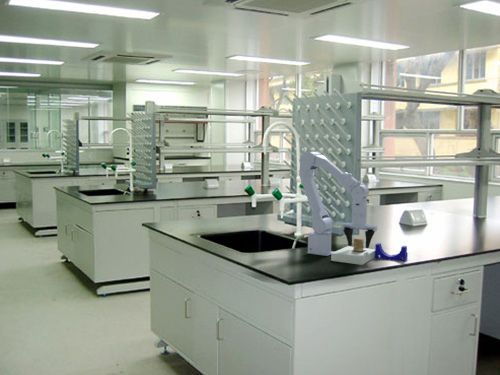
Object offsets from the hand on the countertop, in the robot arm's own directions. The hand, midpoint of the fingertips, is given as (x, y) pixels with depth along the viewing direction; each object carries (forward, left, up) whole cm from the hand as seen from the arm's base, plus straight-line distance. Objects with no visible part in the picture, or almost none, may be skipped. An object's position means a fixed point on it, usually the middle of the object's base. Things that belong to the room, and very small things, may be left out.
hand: (358, 246), depth 206 cm
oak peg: (0, 0, -5) cm, 5 cm away
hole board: (-1, -2, -5) cm, 5 cm away
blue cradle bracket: (+12, +6, -5) cm, 14 cm away
